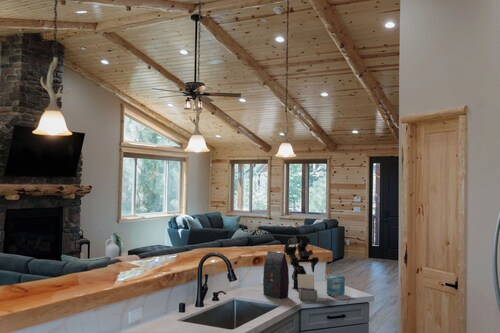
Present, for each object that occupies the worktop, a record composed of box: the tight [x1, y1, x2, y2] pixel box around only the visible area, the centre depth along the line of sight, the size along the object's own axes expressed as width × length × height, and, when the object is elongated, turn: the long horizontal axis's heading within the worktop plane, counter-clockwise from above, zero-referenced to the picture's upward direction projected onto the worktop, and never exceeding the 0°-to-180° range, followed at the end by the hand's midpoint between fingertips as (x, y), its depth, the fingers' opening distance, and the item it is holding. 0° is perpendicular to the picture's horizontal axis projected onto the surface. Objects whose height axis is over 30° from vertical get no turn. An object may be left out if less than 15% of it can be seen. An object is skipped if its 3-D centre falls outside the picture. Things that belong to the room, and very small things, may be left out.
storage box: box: [298, 287, 318, 302], centre depth 280 cm, size 8×10×6 cm
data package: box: [326, 274, 346, 297], centre depth 294 cm, size 12×4×12 cm, turn 124°
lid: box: [298, 273, 315, 289], centre depth 286 cm, size 8×10×1 cm
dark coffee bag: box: [262, 250, 290, 300], centre depth 289 cm, size 8×16×28 cm, turn 41°
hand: (306, 272), depth 294 cm, fingers open, 9 cm apart
